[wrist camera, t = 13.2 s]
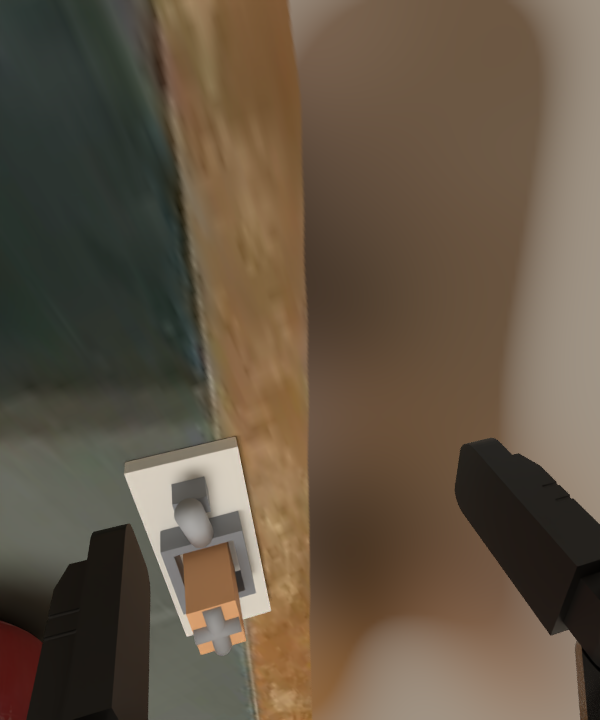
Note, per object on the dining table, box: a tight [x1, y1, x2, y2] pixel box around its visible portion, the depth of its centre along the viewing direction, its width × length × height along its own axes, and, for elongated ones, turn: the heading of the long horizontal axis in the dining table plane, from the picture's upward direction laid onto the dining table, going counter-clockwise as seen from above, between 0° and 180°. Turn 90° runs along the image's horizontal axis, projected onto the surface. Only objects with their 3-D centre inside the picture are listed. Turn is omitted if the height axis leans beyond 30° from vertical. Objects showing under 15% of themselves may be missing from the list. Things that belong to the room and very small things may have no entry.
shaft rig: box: [124, 437, 271, 636], centre depth 46 cm, size 10×26×7 cm, turn 5°
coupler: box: [183, 542, 246, 656], centre depth 44 cm, size 6×4×9 cm, turn 5°
